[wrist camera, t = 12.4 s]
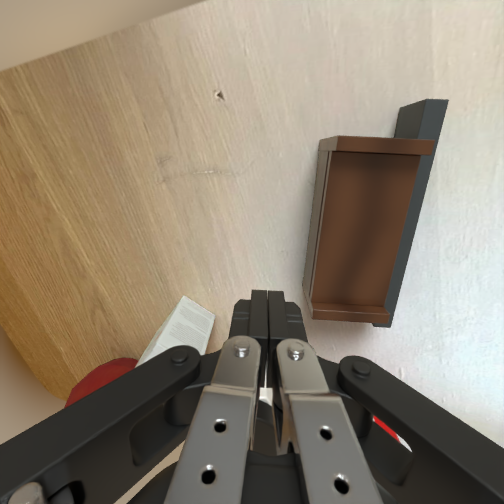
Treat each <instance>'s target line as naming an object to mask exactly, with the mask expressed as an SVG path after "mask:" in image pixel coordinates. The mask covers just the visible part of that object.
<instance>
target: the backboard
mask: <svg viewBox="0 0 504 504" xmlns="http://www.w3.org/2000/svg"><path fill="white" fill-rule="evenodd" d="M448 101H449V100H443V99H425V100H422V101H419V102H416V103H413V104H410V105H407V106H404V107H401V108H400V111H399V116H398V121H397V126H396V131H395V136H394V138H403V139H423V140H435V143H434V147H433V151H432V155H421V159H420V163H419V167H418V171H417V175H416V179H415V183H414V188H413V192H412V196H411V200H410V204H409V208H408V212H407V216H406V220H405V224H404V228H403V232H402V236H401V240H400V244H399V249H398V253H397V257H396V261H395V265H394V269H393V273H392V277H391V281H390V285H389V289H388V293H387V297H386V301H385V306H384V307H385V309H386V310H387V311H388V313H389V314H390V317H389V321H388V324H381V323H372V324H373V326H374V327H386V328H391V324H392V320H393V316H394V312H395V308H396V305H397V301H398V297H399V293H400V289H401V285H402V281H403V277H404V273H405V269H406V265H407V261H408V258H409V254H410V250H411V246H412V242H413V238H414V234H415V230H416V226H417V222H418V218H419V214H420V211H421V207H422V203H423V199H424V195H425V191H426V187H427V183H428V179H429V175H430V171H431V168H432V164H433V160H434V156H435V152H436V148H437V144H438V140H439V136H440V132H441V128H442V124H443V121H444V117H445V113H446V109H447V105H448Z"/></svg>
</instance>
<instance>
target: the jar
mask: <svg viewBox="0 0 504 504" xmlns="http://www.w3.org/2000/svg"><path fill="white" fill-rule="evenodd" d="M253 451H255V452H258V453H261V454H264V455H266V456H277V451H276V442H275V433H274V425H273V416H272V388H266V373H265V387H264V388H260V398H259V401H258V403H257V414H256V423H255V432H254V441H253Z"/></svg>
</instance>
